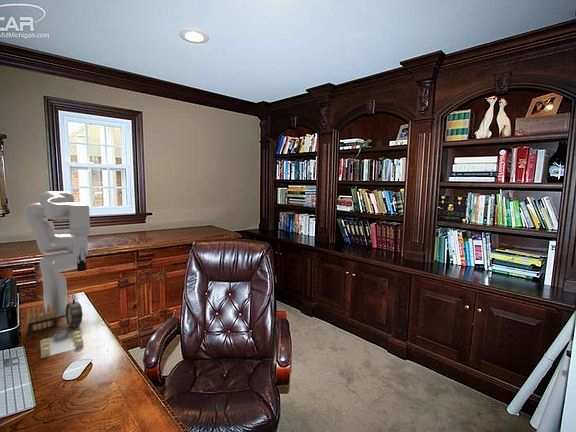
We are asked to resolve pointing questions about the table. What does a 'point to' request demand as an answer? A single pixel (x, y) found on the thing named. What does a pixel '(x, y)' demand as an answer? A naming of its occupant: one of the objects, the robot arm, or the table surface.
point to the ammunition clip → (41, 319)
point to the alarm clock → (73, 313)
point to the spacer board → (61, 344)
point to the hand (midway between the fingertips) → (81, 270)
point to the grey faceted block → (60, 335)
